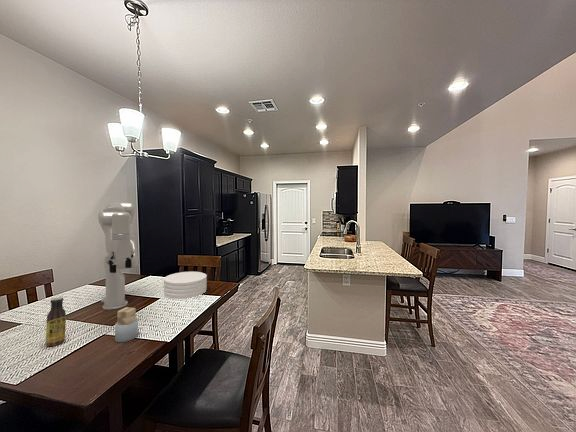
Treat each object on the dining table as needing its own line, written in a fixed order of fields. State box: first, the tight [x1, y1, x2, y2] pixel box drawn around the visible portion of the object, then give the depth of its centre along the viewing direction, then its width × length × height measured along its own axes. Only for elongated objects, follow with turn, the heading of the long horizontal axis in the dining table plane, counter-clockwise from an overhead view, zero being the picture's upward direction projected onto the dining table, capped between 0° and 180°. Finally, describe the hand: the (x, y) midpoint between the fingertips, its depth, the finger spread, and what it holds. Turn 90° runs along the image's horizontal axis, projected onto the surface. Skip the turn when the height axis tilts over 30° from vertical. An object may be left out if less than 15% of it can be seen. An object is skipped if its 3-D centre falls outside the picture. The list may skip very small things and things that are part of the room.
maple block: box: [116, 306, 137, 325], centre depth 114 cm, size 5×5×6 cm
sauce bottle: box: [45, 296, 67, 347], centre depth 108 cm, size 7×6×20 cm
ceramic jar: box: [114, 318, 139, 343], centre depth 114 cm, size 9×9×7 cm
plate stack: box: [163, 271, 208, 300], centre depth 174 cm, size 28×28×12 cm
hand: (120, 270), depth 125 cm, fingers open, 9 cm apart
